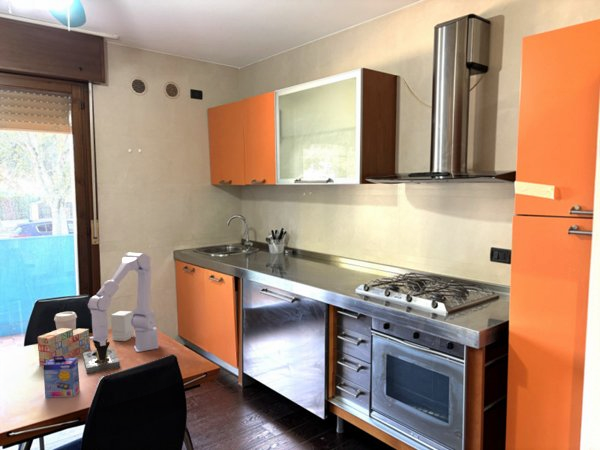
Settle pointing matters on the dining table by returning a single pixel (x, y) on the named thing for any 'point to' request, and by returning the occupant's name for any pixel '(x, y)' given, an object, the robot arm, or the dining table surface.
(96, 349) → the gold rounded cylinder
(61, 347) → the stack of blocks
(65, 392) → the ink cartridge box
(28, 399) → the dining table surface
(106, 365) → the plate
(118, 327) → the supplement box
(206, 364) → the dining table surface
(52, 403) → the dining table surface
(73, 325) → the coffee cup
